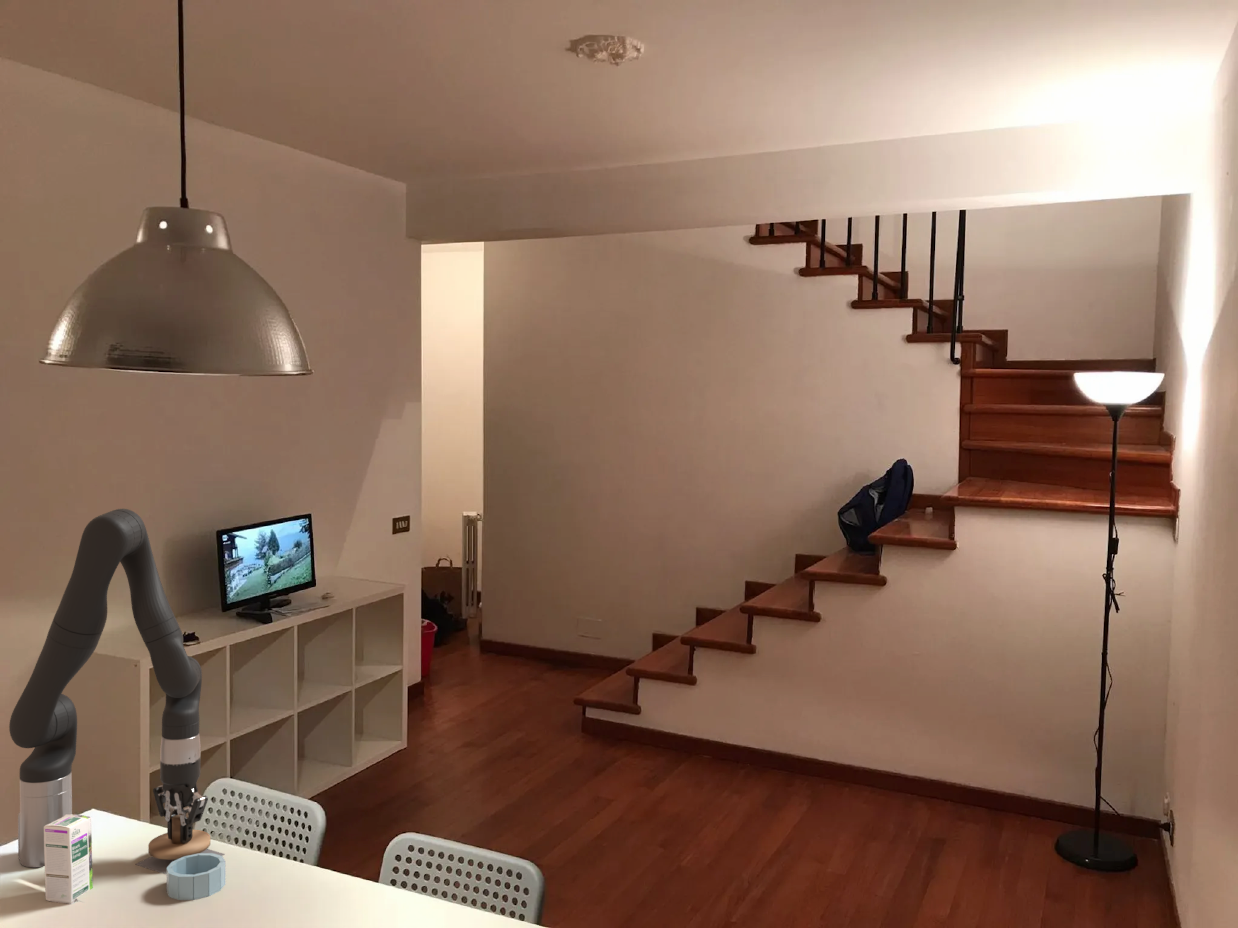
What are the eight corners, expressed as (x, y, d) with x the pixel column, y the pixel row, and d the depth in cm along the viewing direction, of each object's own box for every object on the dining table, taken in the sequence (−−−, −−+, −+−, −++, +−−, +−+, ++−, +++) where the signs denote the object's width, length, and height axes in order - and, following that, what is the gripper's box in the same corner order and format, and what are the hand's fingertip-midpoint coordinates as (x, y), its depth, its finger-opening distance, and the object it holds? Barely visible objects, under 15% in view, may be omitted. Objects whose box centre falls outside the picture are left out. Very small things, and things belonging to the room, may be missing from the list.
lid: (135, 856, 202) (135, 820, 201) (183, 835, 212) (183, 802, 212) (175, 868, 197) (175, 832, 196) (222, 847, 207) (223, 812, 207)
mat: (134, 866, 201) (134, 863, 201) (184, 844, 212) (184, 841, 212) (175, 879, 196) (175, 876, 196) (225, 856, 207) (225, 853, 207)
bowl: (155, 894, 190) (155, 868, 190) (199, 873, 199) (199, 849, 199) (192, 907, 185) (192, 880, 185) (236, 885, 194) (236, 859, 194)
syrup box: (71, 904, 186) (70, 827, 185) (43, 900, 187) (43, 824, 186) (93, 890, 191) (92, 815, 191) (66, 887, 192) (65, 812, 192)
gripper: (140, 755, 203) (140, 839, 204) (189, 768, 197) (188, 854, 198) (172, 745, 210) (171, 826, 211) (220, 757, 204) (219, 840, 204)
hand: (179, 839), depth 204 cm, fingers closed on lid, 3 cm apart
